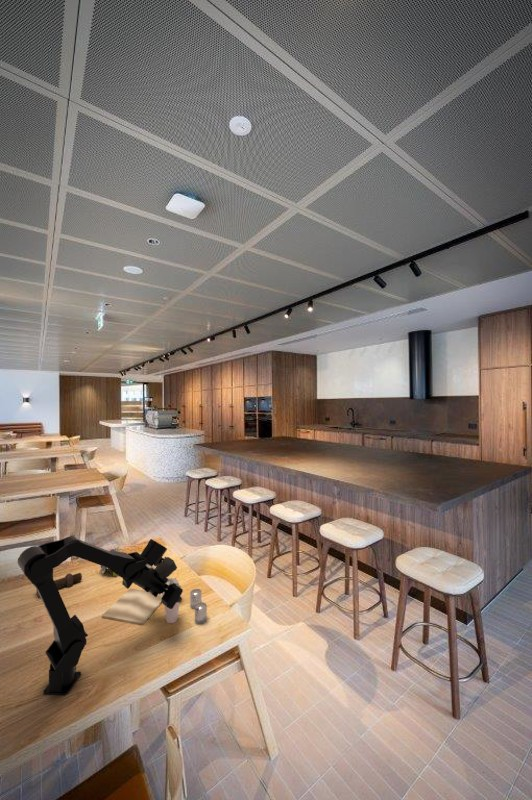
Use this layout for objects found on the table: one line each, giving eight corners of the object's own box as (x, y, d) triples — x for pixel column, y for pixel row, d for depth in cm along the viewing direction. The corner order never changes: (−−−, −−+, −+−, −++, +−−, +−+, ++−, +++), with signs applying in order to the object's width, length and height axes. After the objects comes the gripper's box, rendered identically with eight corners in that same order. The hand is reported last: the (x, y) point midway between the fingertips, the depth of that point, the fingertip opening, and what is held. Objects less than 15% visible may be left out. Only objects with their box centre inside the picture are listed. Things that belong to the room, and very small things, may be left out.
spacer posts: (199, 626, 109) (199, 611, 109) (168, 601, 122) (168, 588, 122) (217, 614, 115) (217, 600, 115) (185, 592, 128) (185, 579, 127)
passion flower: (103, 585, 141) (94, 558, 145) (129, 571, 148) (119, 546, 152) (107, 581, 133) (97, 553, 137) (133, 567, 140) (123, 540, 144)
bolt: (81, 586, 134) (37, 600, 124) (78, 575, 137) (35, 589, 127) (83, 576, 132) (39, 591, 122) (81, 566, 135) (37, 579, 125)
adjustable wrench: (142, 568, 146) (142, 564, 146) (156, 563, 150) (156, 559, 150) (166, 593, 127) (166, 589, 127) (181, 587, 131) (181, 583, 131)
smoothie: (174, 610, 117) (174, 572, 116) (185, 618, 113) (185, 579, 112) (158, 620, 112) (158, 580, 111) (169, 629, 108) (169, 587, 107)
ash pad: (142, 625, 109) (142, 622, 109) (101, 617, 113) (101, 615, 113) (167, 596, 125) (167, 594, 125) (130, 590, 128) (130, 588, 128)
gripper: (177, 564, 103) (205, 583, 111) (147, 545, 115) (174, 564, 123) (154, 600, 97) (185, 617, 105) (125, 576, 109) (155, 593, 118)
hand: (175, 596), depth 113 cm, fingers closed on smoothie, 6 cm apart
